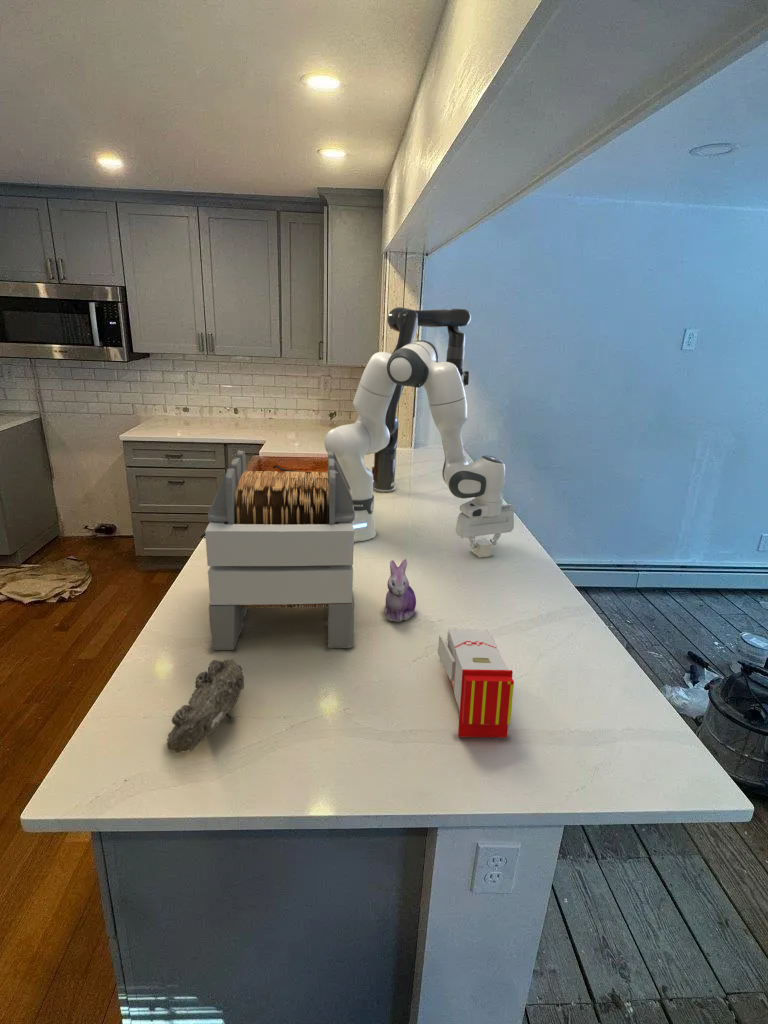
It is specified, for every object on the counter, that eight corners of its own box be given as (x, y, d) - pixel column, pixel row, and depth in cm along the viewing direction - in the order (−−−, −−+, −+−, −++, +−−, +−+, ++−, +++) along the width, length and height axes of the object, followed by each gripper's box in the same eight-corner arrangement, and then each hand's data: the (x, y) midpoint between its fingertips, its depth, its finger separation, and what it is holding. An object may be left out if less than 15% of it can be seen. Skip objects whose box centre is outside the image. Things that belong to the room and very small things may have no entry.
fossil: (192, 660, 117) (244, 628, 112) (224, 691, 120) (276, 661, 115) (142, 746, 98) (202, 712, 93) (182, 779, 101) (242, 748, 96)
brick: (491, 556, 185) (493, 543, 184) (479, 557, 184) (480, 545, 182) (484, 550, 189) (485, 538, 188) (472, 552, 188) (473, 539, 186)
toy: (488, 613, 130) (523, 677, 101) (484, 667, 133) (517, 744, 104) (435, 612, 130) (455, 676, 101) (432, 666, 133) (451, 743, 103)
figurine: (392, 627, 141) (395, 572, 136) (374, 608, 149) (376, 556, 144) (425, 619, 145) (429, 566, 140) (405, 601, 154) (408, 550, 149)
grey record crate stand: (230, 583, 159) (223, 441, 145) (347, 582, 163) (350, 443, 149) (209, 652, 127) (196, 479, 114) (354, 649, 131) (359, 480, 117)
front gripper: (509, 500, 187) (504, 539, 192) (455, 506, 180) (451, 546, 184) (520, 506, 182) (515, 546, 187) (465, 512, 174) (461, 554, 179)
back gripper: (465, 356, 253) (461, 393, 258) (436, 356, 247) (434, 393, 253) (473, 358, 246) (470, 395, 252) (445, 358, 241) (442, 396, 246)
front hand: (483, 546), depth 185 cm, fingers open, 6 cm apart
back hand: (452, 394), depth 252 cm, fingers open, 8 cm apart
